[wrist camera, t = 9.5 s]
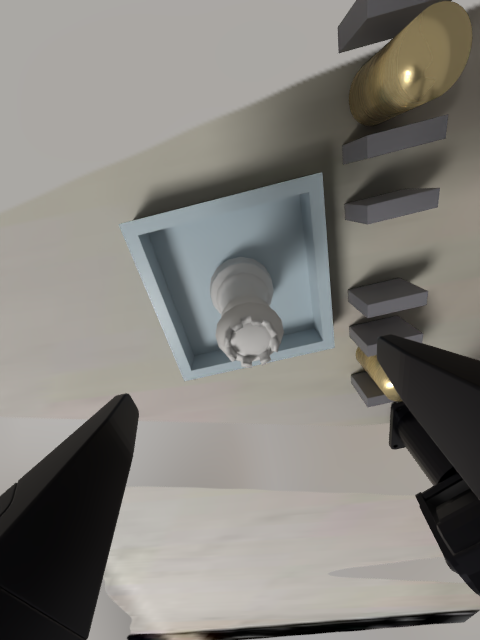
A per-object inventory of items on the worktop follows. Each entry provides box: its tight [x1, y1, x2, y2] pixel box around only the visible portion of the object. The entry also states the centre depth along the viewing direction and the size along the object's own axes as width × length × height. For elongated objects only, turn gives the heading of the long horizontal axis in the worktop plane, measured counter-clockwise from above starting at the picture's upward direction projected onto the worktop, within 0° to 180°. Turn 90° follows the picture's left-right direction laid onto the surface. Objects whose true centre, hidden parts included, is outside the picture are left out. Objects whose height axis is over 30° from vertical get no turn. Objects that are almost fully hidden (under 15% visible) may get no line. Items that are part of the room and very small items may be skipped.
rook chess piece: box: [210, 257, 284, 368], centre depth 15 cm, size 4×4×8 cm
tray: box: [119, 172, 335, 381], centre depth 18 cm, size 12×12×2 cm
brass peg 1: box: [356, 347, 402, 402], centre depth 20 cm, size 3×3×4 cm
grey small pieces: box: [338, 0, 452, 407], centre depth 17 cm, size 24×4×3 cm, turn 13°
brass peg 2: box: [349, 1, 472, 126], centre depth 12 cm, size 3×3×4 cm
